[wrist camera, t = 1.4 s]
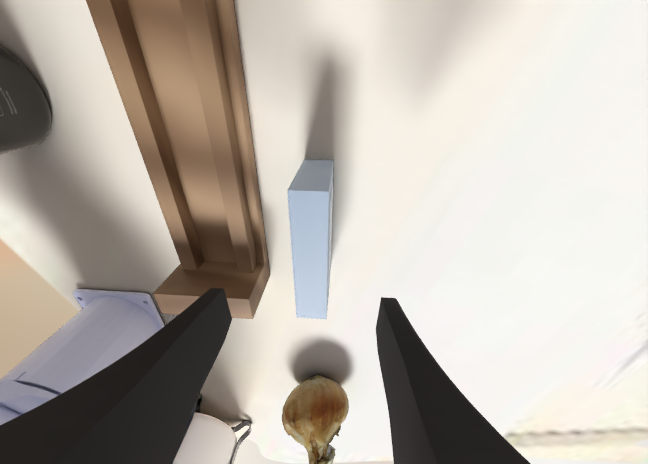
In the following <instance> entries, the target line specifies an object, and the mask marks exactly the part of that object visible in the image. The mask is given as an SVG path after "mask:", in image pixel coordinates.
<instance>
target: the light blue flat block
mask: <svg viewBox="0 0 648 464" xmlns="http://www.w3.org/2000/svg"><path fill="white" fill-rule="evenodd" d="M288 203H289V217H290V231H291V245H292V259H293V273H294V287H295V301H296V315H297V317H300V318H316V319H326V318H327V305H328V294H329V281H330V268H331V244H332V207H333V160H308V159H304V161H303V163H302V165H301V167H300V169H299V170H298V172H297V174H296V176H295V178H294V180H293V181H292V183H291V185H290V187H289V189H288Z"/></svg>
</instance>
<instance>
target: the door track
mask: <svg viewBox="0 0 648 464" xmlns="http://www.w3.org/2000/svg"><path fill="white" fill-rule="evenodd" d="M86 2H87V4H88V7H89V10H90V13H91V16H92V18H93V21H94V24H95V27H96V29H97V32H98V35H99V38H100V41H101V43H102V46H103V49H104V52H105V54H106V57H107V60H108V63H109V65H110V68H111V71H112V74H113V77H114V79H115V82H116V85H117V88H118V90H119V93H120V96H121V99H122V102H123V104H124V107H125V110H126V113H127V115H128V118H129V121H130V124H131V127H132V129H133V132H134V135H135V138H136V140H137V143H138V146H139V149H140V152H141V154H142V157H143V160H144V163H145V165H146V168H147V171H148V174H149V177H150V179H151V182H152V185H153V188H154V190H155V193H156V196H157V199H158V201H159V204H160V207H161V210H162V213H163V215H164V218H165V221H166V224H167V226H168V229H169V232H170V235H171V238H172V240H173V243H174V246H175V249H176V251H177V254H178V257H179V260H180V263H181V264H180V265H179V266H178V267H177V268H176V269H175V270H174V271H173V273H172V274H171V275H170V276H169V277H168V278H167V279H166V280H165V281H164V282H163V283H162V284H161V286H160V287H159V288H158V289H157V290H156V291H155V292H154V293H153V295H154V297H155V299H156V301H157V304H158V306H159V308H160V310H161V312H162V313H167V314H180V313H182V312H183V311H184V310H185V309H186V308H188V307H189V306H190V305H191V304H192V303H193V302H195V301H196V300H197V299H198V298H199V297H201V296H202V295H203V294H204V293H205V292H207V291H208V290H209V289H210V288H224V291H225V294H226V298H227V302H228V306H229V309H230V313H231V317H232V318H246V319H253V317H254V315H255V312H256V310H257V307H258V304H259V302H260V299H261V297H262V294H263V292H264V289H265V287H266V284H267V282H268V279H269V277H270V269H269V262H268V254H267V247H266V240H265V232H264V225H263V217H262V210H261V202H260V195H259V187H258V180H257V172H256V165H255V157H254V150H253V142H252V135H251V127H250V120H249V113H248V105H247V98H246V90H245V83H244V75H243V68H242V60H241V53H240V45H239V38H238V30H237V23H236V15H235V8H234V0H86Z"/></svg>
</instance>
